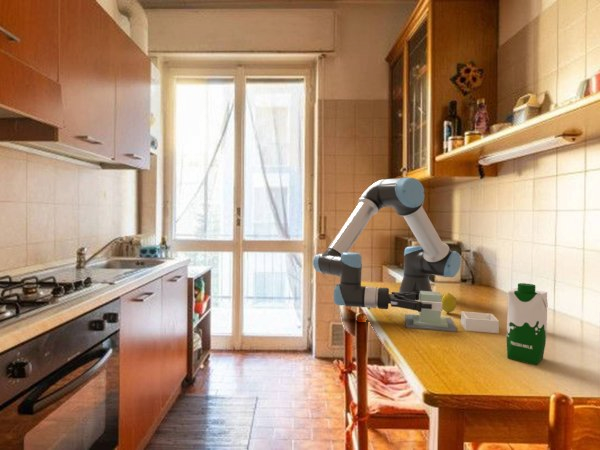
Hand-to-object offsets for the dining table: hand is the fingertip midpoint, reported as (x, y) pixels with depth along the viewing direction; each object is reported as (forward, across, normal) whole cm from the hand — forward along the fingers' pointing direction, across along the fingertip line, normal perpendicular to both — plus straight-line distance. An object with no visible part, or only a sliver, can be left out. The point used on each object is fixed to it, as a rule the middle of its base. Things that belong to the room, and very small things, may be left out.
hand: (440, 302), depth 137 cm
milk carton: (+19, +28, -8) cm, 34 cm away
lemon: (+5, -18, -8) cm, 20 cm away
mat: (-3, 0, -8) cm, 8 cm away
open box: (+13, 0, -8) cm, 15 cm away
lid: (-3, 0, -7) cm, 8 cm away
